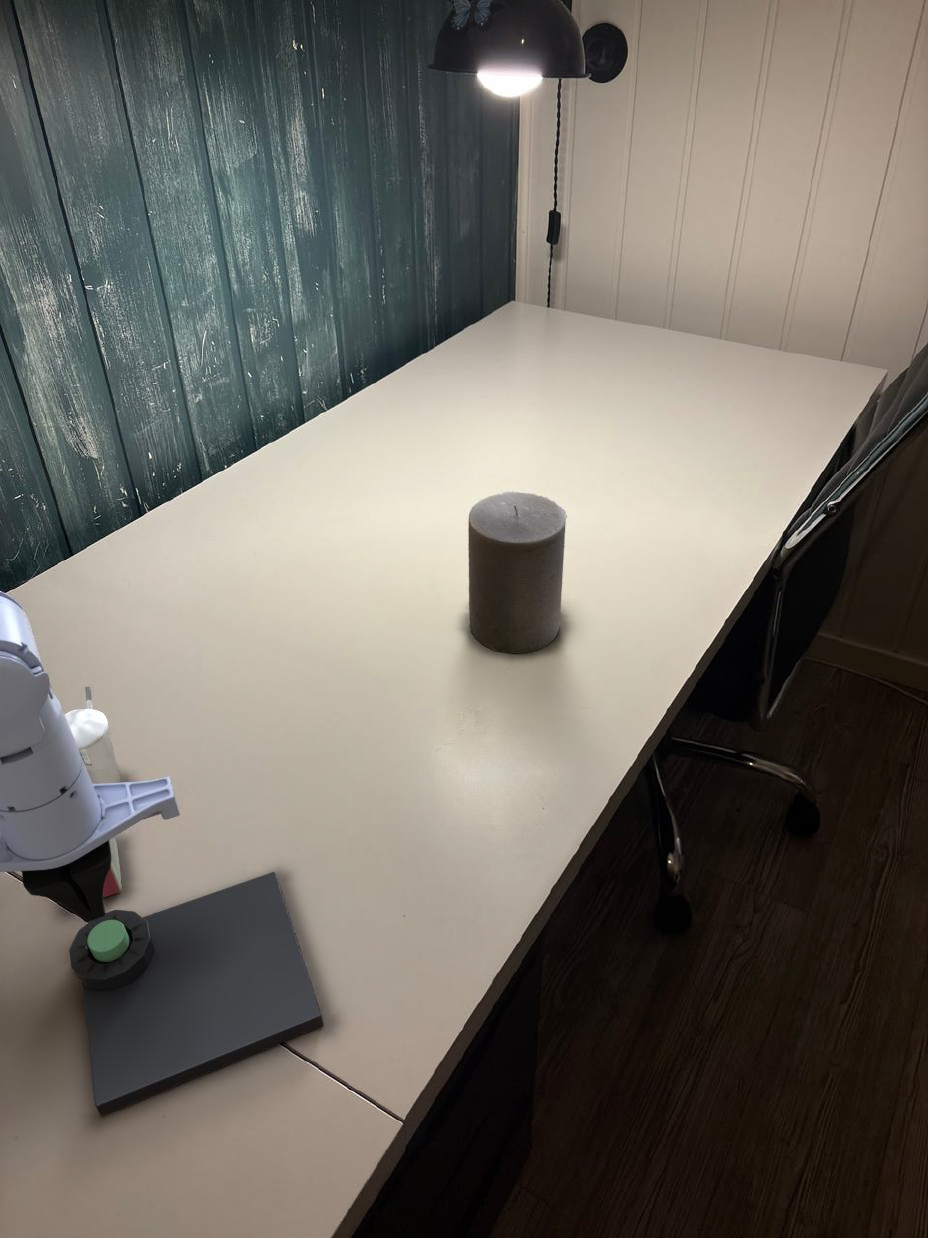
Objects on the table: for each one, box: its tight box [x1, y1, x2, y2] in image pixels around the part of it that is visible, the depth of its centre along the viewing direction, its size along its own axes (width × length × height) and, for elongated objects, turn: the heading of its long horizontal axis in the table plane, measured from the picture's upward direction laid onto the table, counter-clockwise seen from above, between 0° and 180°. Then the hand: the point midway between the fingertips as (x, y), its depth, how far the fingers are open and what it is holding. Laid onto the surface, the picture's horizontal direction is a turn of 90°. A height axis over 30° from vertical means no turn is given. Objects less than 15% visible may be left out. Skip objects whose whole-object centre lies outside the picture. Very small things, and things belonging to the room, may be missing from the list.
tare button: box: [88, 920, 130, 962], centre depth 66 cm, size 3×3×1 cm
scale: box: [68, 871, 324, 1116], centre depth 65 cm, size 15×13×3 cm
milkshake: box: [64, 686, 123, 784], centre depth 78 cm, size 5×5×10 cm
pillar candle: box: [467, 490, 568, 654], centre depth 94 cm, size 10×10×15 cm
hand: (93, 908), depth 63 cm, fingers closed
